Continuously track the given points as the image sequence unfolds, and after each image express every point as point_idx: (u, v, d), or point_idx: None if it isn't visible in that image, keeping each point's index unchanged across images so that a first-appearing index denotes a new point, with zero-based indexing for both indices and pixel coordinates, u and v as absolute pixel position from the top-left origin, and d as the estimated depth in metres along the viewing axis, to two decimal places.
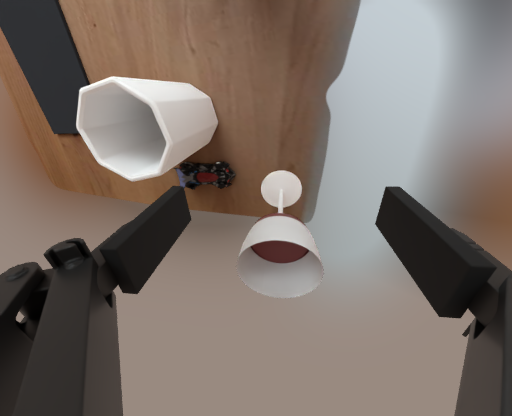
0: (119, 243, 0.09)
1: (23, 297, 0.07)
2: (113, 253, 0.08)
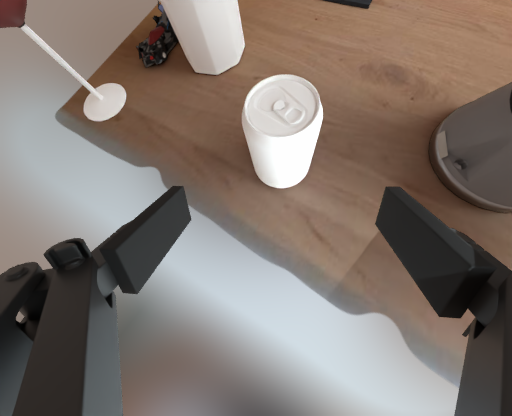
0: (119, 243, 0.09)
1: (23, 297, 0.07)
2: (113, 253, 0.08)
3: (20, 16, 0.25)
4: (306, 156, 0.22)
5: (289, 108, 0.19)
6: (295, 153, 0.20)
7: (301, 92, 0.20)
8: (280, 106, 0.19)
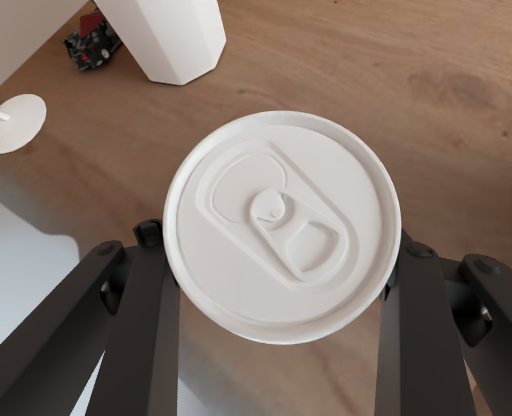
0: None
1: (107, 273, 0.08)
2: None
3: None
4: None
5: (298, 222, 0.06)
6: None
7: (334, 167, 0.07)
8: (271, 210, 0.06)
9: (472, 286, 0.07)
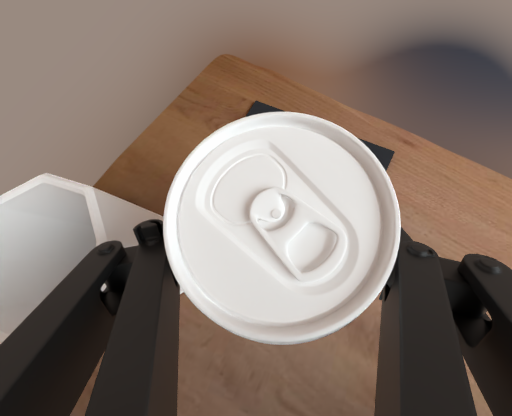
0: None
1: (107, 273, 0.08)
2: None
3: None
4: None
5: (298, 223, 0.06)
6: None
7: (334, 168, 0.07)
8: (271, 211, 0.06)
9: (472, 286, 0.07)
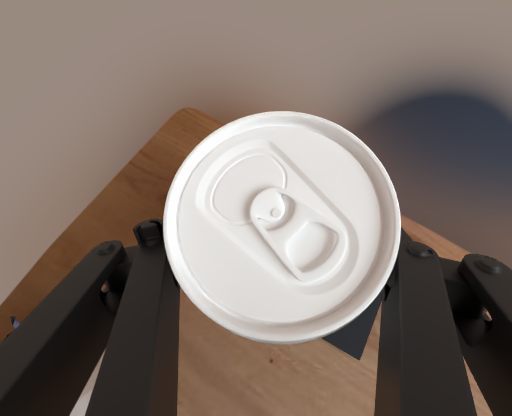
0: None
1: (107, 273, 0.08)
2: None
3: None
4: None
5: (298, 223, 0.06)
6: None
7: (334, 168, 0.07)
8: (271, 210, 0.06)
9: (472, 286, 0.07)
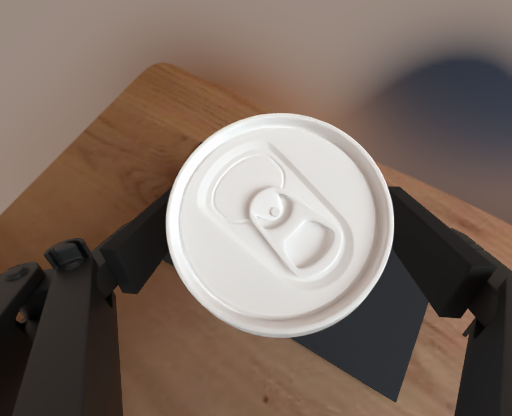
0: (119, 243, 0.09)
1: (23, 297, 0.07)
2: (113, 253, 0.08)
3: None
4: None
5: (295, 221, 0.06)
6: None
7: (331, 168, 0.07)
8: (270, 210, 0.07)
9: None
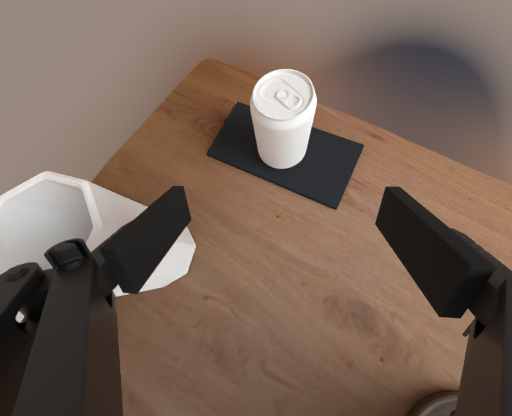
0: (119, 243, 0.09)
1: (23, 297, 0.07)
2: (113, 253, 0.08)
3: None
4: (303, 137, 0.27)
5: (289, 96, 0.24)
6: (294, 133, 0.25)
7: (299, 83, 0.24)
8: (282, 94, 0.24)
9: None
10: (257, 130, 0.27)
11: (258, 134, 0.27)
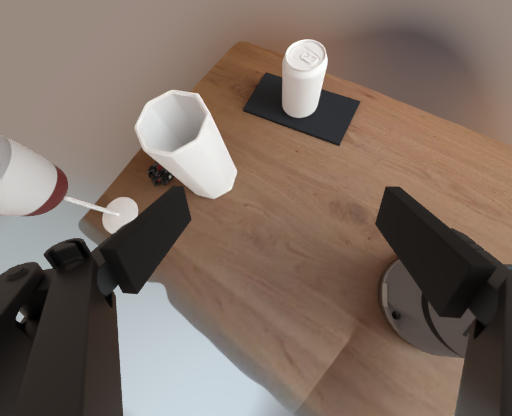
0: (119, 243, 0.09)
1: (23, 297, 0.07)
2: (113, 253, 0.08)
3: (62, 199, 0.32)
4: (317, 88, 0.39)
5: (309, 56, 0.36)
6: (312, 82, 0.37)
7: (316, 48, 0.37)
8: (304, 55, 0.37)
9: None
10: (286, 82, 0.39)
11: (286, 86, 0.40)
